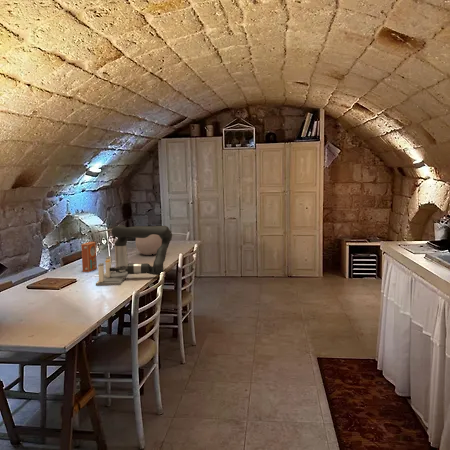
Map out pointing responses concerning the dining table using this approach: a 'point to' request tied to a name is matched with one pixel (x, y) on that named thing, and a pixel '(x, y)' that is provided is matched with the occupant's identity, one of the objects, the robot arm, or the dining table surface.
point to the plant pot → (148, 244)
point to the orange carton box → (89, 256)
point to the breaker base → (113, 280)
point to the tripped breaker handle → (108, 268)
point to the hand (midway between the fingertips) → (109, 269)
